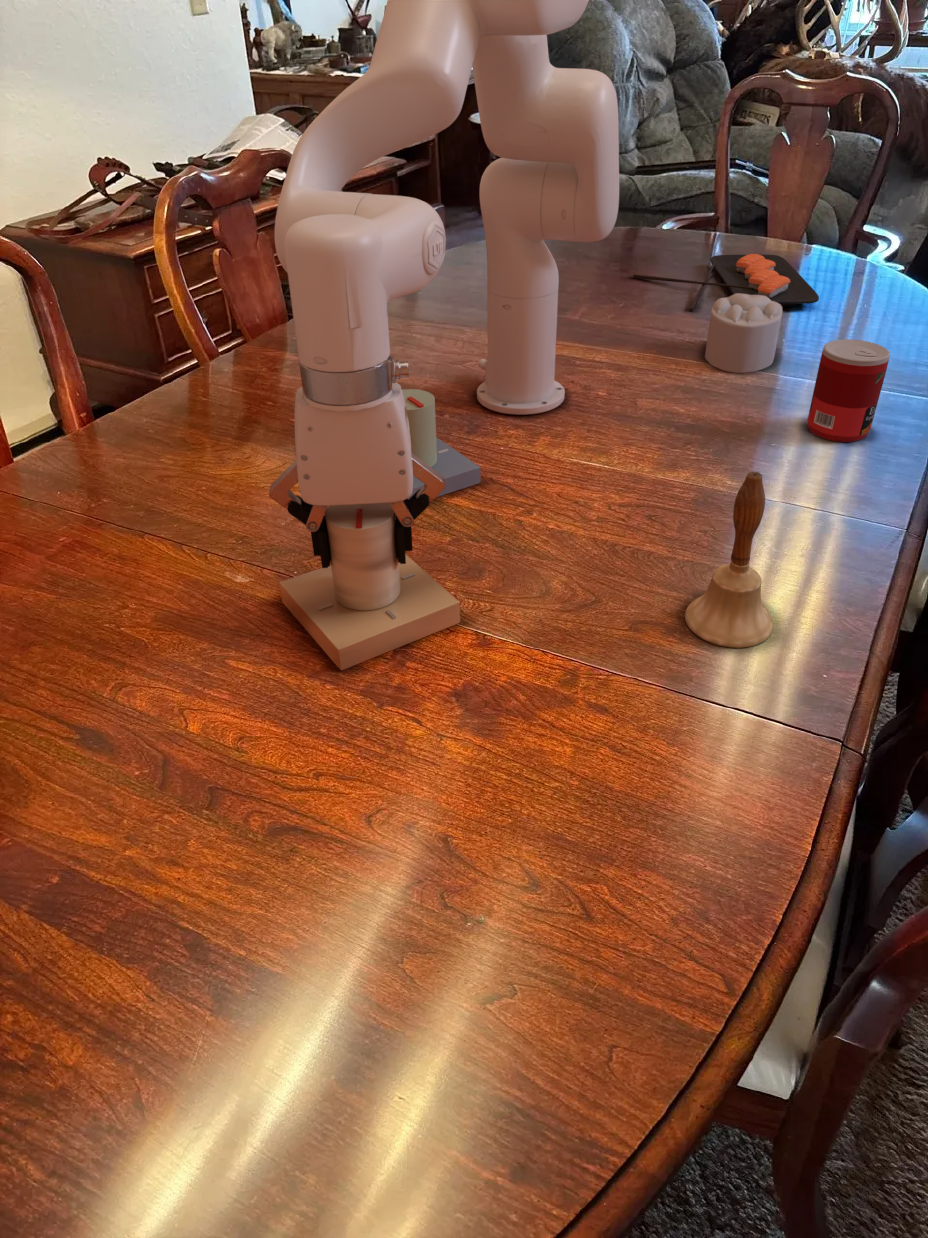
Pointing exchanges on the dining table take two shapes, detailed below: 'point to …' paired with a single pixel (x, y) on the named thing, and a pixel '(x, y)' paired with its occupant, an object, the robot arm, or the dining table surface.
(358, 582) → the beige banded cylinder
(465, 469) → the blue-grey dial base
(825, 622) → the dining table surface
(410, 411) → the green dial knob
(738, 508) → the hand bell
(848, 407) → the canned food
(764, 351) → the lumpy-topped squat cylinder
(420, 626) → the birch turntable
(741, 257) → the sushi plate
